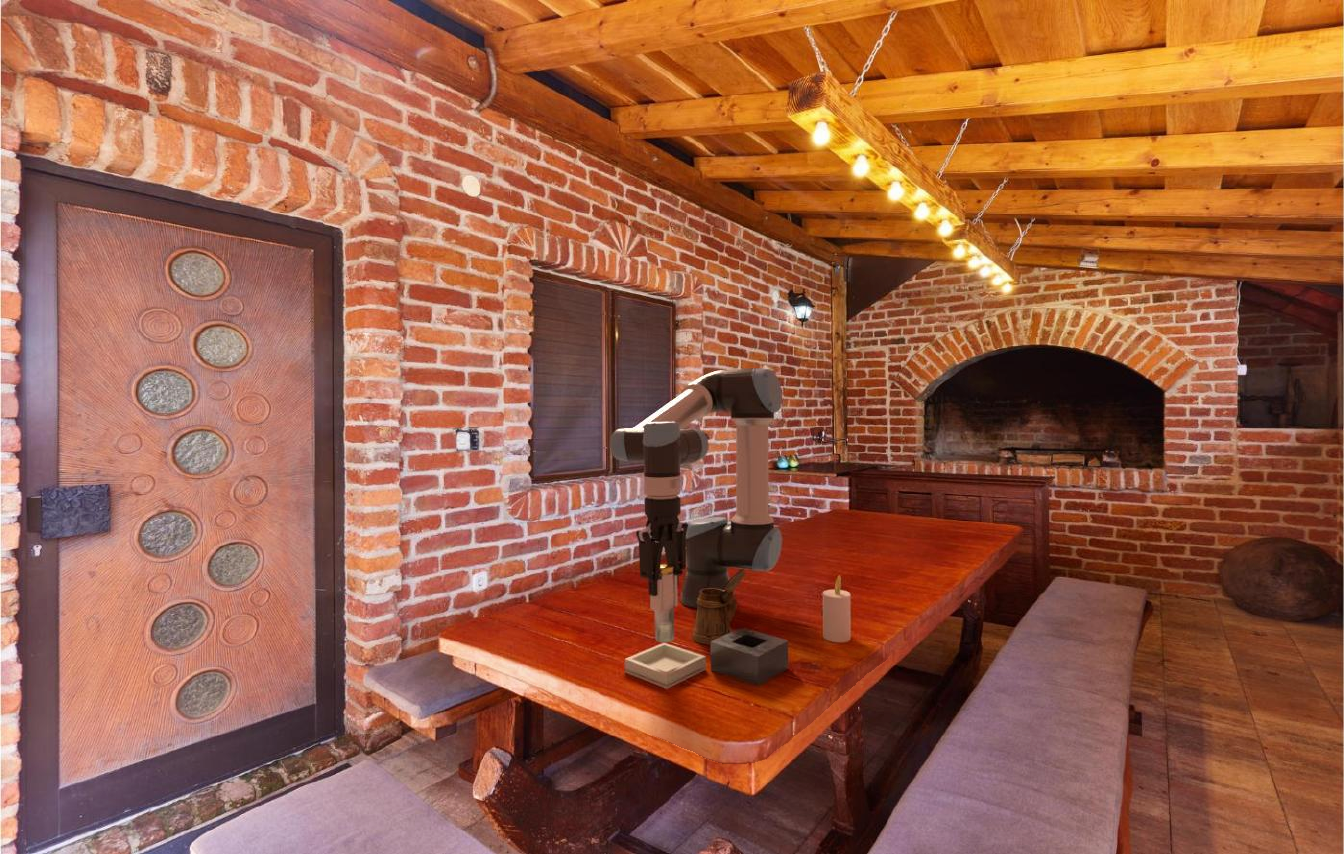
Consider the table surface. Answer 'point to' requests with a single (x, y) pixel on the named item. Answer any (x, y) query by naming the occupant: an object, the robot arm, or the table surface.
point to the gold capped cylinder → (665, 607)
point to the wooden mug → (716, 611)
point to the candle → (836, 614)
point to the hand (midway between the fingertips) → (664, 607)
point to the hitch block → (749, 656)
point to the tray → (665, 665)
